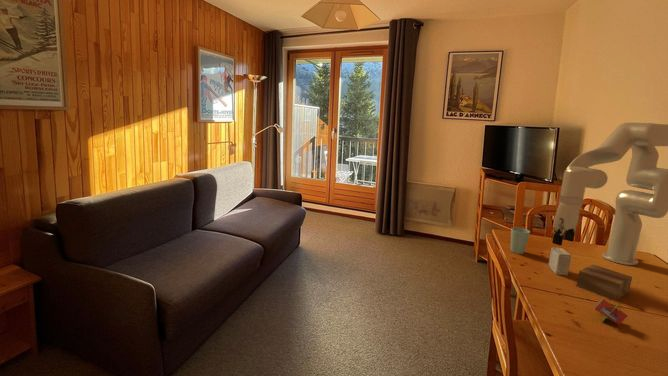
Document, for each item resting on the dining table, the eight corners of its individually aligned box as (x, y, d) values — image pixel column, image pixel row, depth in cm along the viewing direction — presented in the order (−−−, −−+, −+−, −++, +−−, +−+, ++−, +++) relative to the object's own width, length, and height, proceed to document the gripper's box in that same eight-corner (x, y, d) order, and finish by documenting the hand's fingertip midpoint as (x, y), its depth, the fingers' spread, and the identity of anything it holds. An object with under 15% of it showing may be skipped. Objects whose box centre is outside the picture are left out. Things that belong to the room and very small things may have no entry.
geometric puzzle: (634, 319, 104) (619, 293, 106) (630, 327, 99) (613, 299, 101) (608, 323, 109) (593, 298, 111) (602, 331, 104) (587, 305, 106)
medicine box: (567, 276, 137) (572, 255, 135) (555, 274, 138) (559, 253, 136) (559, 267, 144) (563, 248, 143) (547, 266, 145) (551, 246, 144)
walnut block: (590, 278, 135) (593, 264, 134) (628, 292, 125) (632, 276, 124) (576, 285, 129) (579, 270, 127) (615, 300, 119) (619, 284, 118)
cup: (525, 250, 163) (528, 228, 161) (527, 256, 156) (531, 233, 154) (507, 247, 165) (510, 226, 163) (509, 253, 158) (512, 231, 156)
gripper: (570, 196, 143) (562, 236, 146) (549, 200, 133) (541, 242, 137) (591, 200, 137) (583, 242, 140) (571, 204, 127) (562, 249, 131)
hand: (562, 242), depth 139 cm, fingers open, 9 cm apart
